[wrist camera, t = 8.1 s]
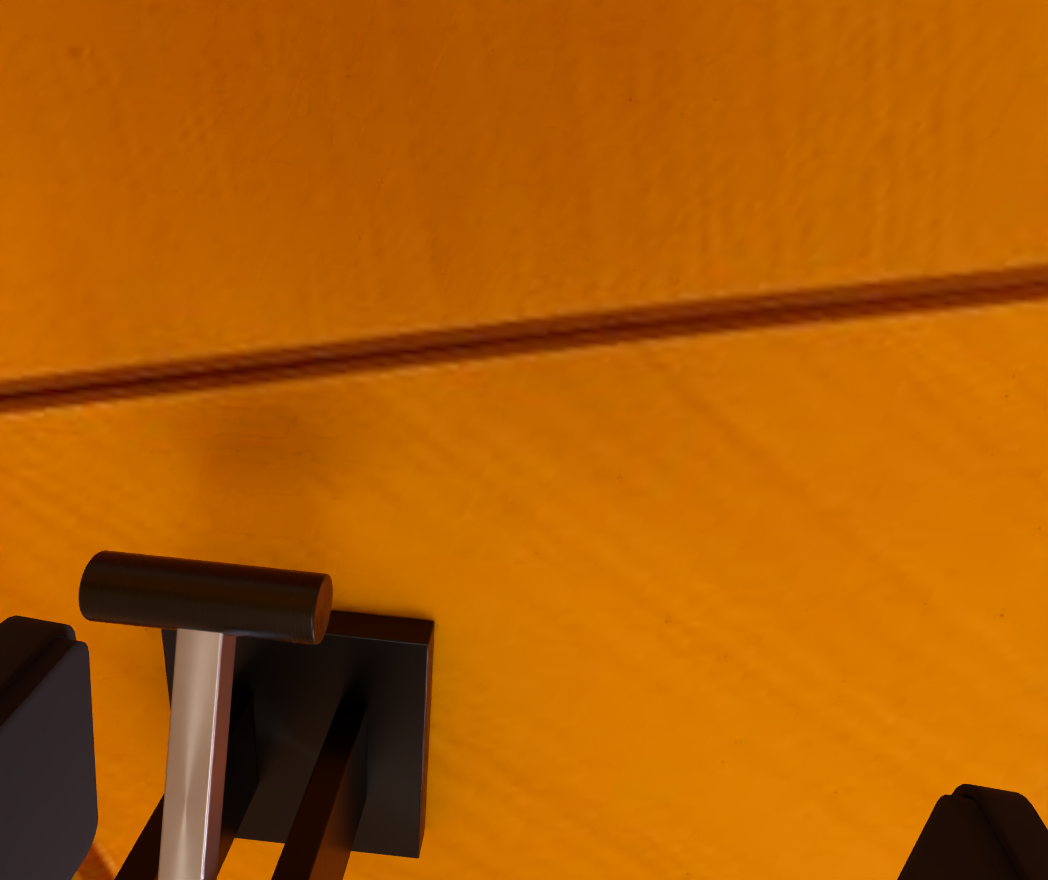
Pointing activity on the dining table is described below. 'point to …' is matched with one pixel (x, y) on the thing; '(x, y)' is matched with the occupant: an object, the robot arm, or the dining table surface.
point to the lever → (202, 669)
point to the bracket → (321, 747)
